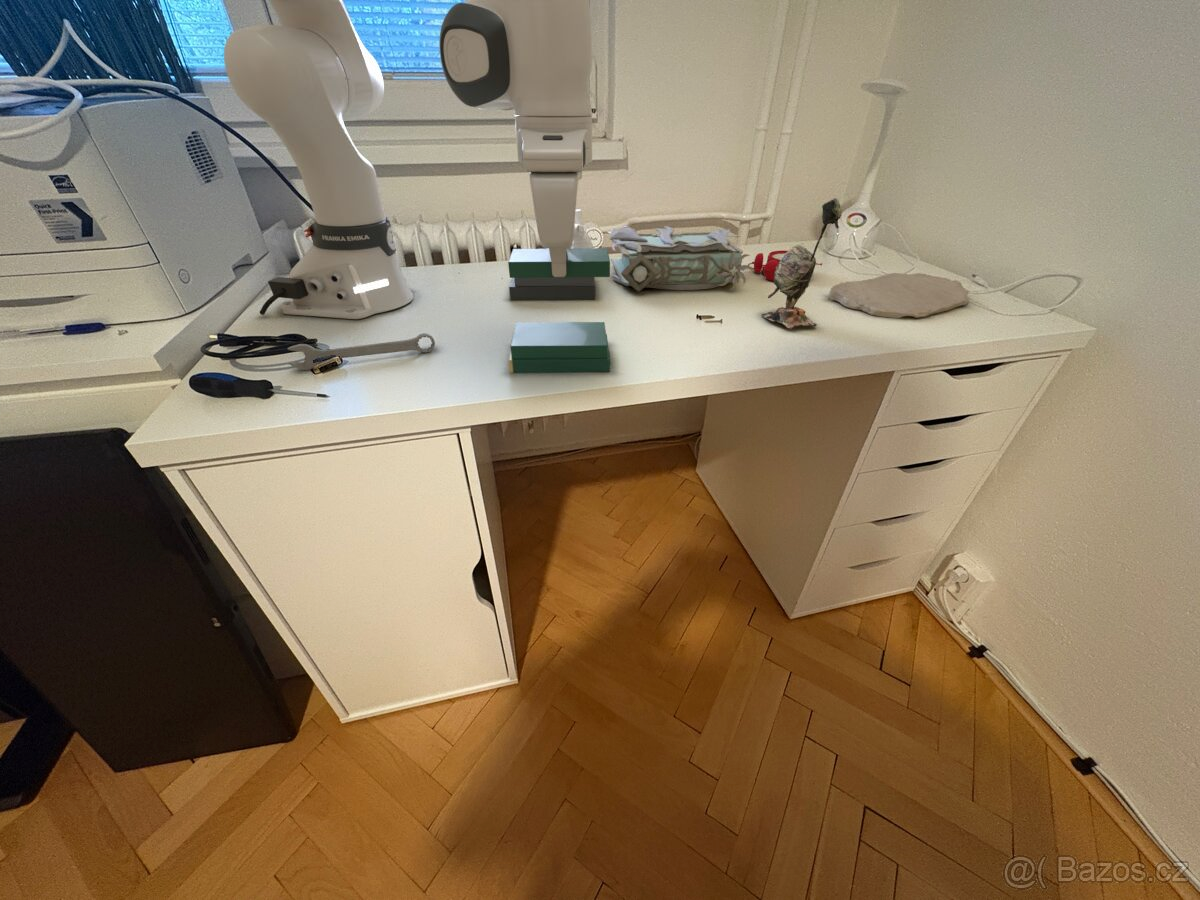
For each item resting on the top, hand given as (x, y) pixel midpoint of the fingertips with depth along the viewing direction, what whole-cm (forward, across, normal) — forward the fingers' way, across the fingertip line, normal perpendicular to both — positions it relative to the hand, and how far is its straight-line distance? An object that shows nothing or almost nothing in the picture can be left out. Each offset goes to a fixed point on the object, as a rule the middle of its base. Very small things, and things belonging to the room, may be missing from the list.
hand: (560, 266), depth 65 cm
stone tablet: (+14, -25, +68) cm, 74 cm away
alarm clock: (+14, -41, +48) cm, 64 cm away
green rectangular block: (+14, 0, 0) cm, 14 cm away
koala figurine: (+14, -46, +3) cm, 48 cm away
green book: (0, 0, 0) cm, 0 cm away
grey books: (+14, -31, -2) cm, 34 cm away
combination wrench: (+14, 0, -29) cm, 32 cm away
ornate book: (+14, -40, +24) cm, 48 cm away
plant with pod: (+14, -15, +40) cm, 45 cm away
